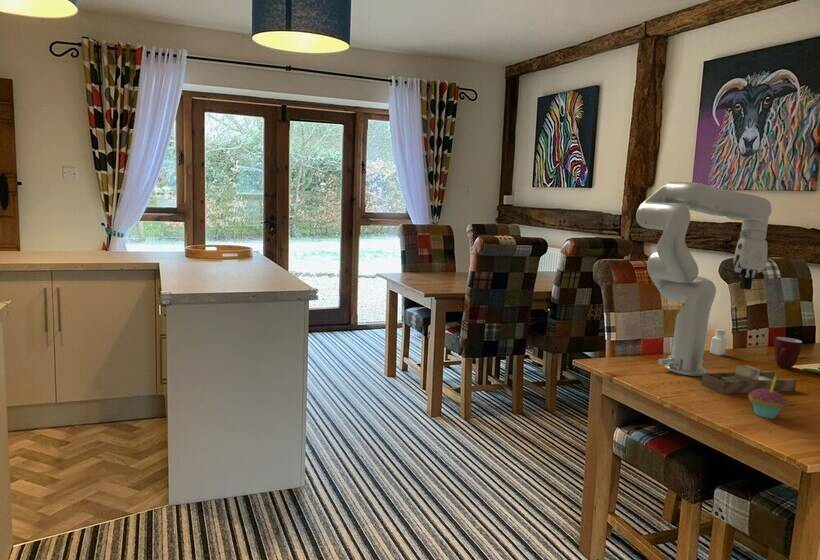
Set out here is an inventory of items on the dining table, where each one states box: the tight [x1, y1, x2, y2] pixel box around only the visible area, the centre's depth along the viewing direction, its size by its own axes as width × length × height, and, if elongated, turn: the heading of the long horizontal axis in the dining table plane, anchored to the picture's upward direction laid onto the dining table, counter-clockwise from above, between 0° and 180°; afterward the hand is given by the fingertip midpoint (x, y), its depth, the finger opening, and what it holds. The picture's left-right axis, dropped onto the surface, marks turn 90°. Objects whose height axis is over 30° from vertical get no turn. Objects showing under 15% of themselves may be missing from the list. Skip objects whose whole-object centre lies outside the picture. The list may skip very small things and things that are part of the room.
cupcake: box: [747, 374, 786, 419], centre depth 158 cm, size 9×8×12 cm
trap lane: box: [700, 370, 797, 395], centre depth 183 cm, size 28×9×4 cm, turn 106°
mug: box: [773, 336, 803, 370], centre depth 208 cm, size 11×8×10 cm
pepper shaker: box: [709, 328, 728, 357], centre depth 222 cm, size 4×4×10 cm
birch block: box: [734, 365, 761, 381], centre depth 181 cm, size 4×4×4 cm
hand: (745, 288), depth 205 cm, fingers closed
